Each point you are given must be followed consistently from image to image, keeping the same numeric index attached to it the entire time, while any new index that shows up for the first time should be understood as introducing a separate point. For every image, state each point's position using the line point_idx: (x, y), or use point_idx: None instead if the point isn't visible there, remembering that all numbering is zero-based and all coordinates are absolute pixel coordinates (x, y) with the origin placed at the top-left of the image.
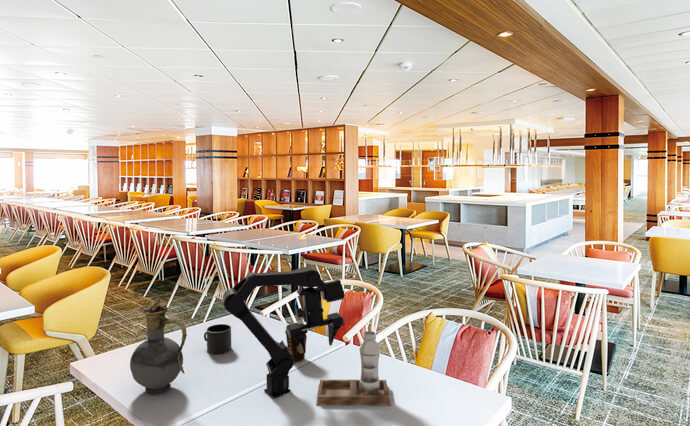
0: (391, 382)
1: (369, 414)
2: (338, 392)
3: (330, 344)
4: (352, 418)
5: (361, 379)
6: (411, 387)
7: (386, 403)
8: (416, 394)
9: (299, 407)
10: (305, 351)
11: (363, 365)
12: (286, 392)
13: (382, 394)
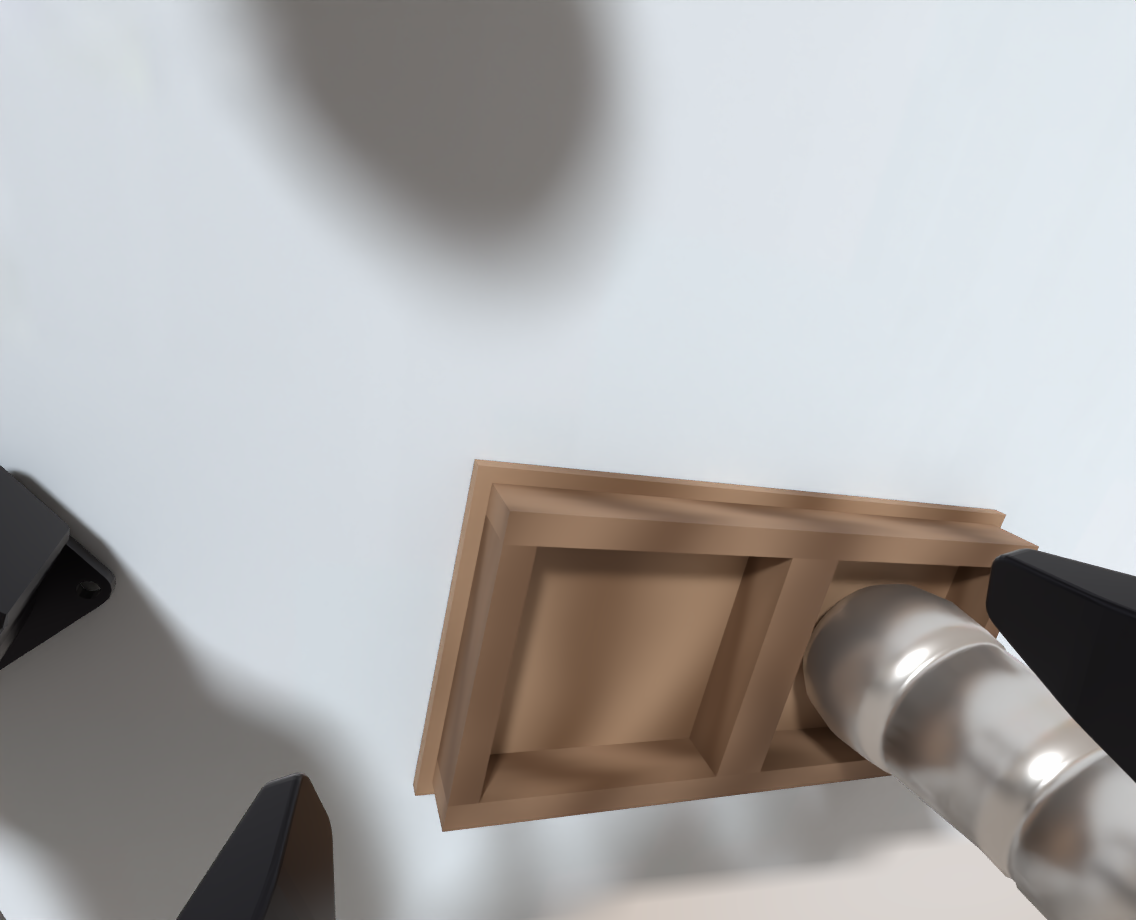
0: (1045, 454)
1: (750, 832)
2: (639, 621)
3: (1020, 652)
4: (643, 883)
5: (890, 757)
6: (1099, 532)
7: None
8: None
9: None
10: (327, 899)
11: (1036, 904)
12: (53, 634)
13: None
